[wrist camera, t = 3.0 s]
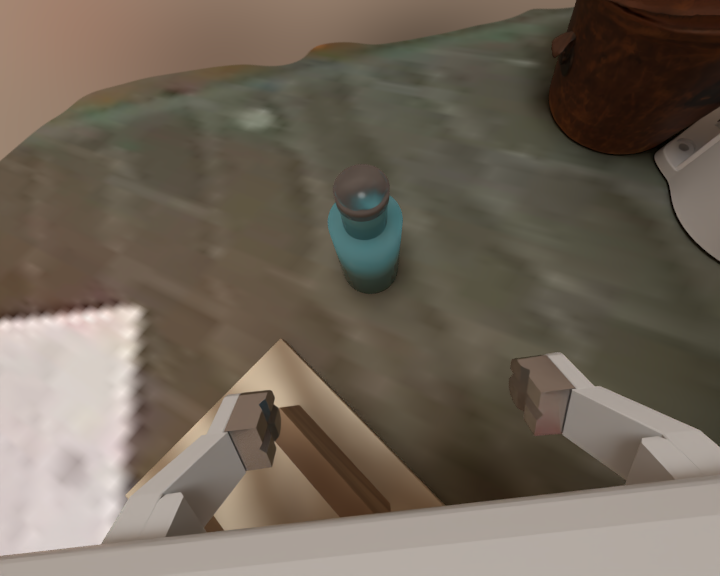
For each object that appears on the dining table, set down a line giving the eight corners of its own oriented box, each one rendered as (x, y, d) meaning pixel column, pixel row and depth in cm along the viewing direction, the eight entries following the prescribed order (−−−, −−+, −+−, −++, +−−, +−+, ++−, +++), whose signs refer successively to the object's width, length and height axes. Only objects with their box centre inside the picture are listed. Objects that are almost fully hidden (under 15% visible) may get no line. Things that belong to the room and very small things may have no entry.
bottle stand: (284, 340, 28) (258, 326, 22) (449, 509, 23) (471, 548, 17) (135, 491, 25) (60, 520, 19) (288, 722, 20) (249, 854, 14)
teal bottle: (369, 233, 30) (359, 137, 19) (409, 265, 29) (424, 183, 18) (332, 269, 29) (299, 192, 18) (372, 304, 28) (363, 244, 17)
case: (598, 13, 37) (778, -307, 20) (756, 120, 31) (1203, -206, 14) (477, 87, 35) (560, -194, 18) (619, 215, 29) (941, -25, 12)
